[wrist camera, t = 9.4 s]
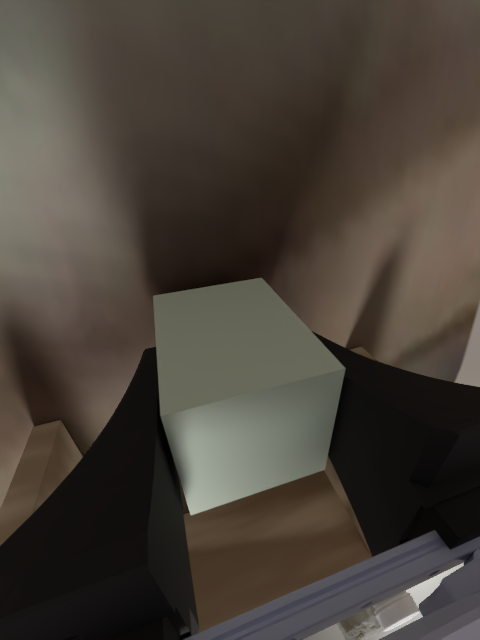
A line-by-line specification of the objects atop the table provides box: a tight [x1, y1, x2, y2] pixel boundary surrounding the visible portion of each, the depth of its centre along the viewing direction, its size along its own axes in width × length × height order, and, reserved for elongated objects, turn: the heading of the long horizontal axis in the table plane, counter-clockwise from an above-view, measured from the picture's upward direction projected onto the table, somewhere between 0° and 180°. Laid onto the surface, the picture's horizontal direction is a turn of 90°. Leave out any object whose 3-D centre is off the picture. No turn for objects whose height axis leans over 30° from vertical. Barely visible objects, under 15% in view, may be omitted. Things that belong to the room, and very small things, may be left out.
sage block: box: [153, 278, 346, 515], centre depth 10 cm, size 4×4×6 cm
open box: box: [0, 347, 377, 633], centre depth 17 cm, size 14×18×6 cm
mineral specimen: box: [337, 606, 383, 640], centre depth 36 cm, size 7×9×8 cm
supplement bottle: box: [373, 591, 420, 632], centre depth 30 cm, size 5×5×8 cm
